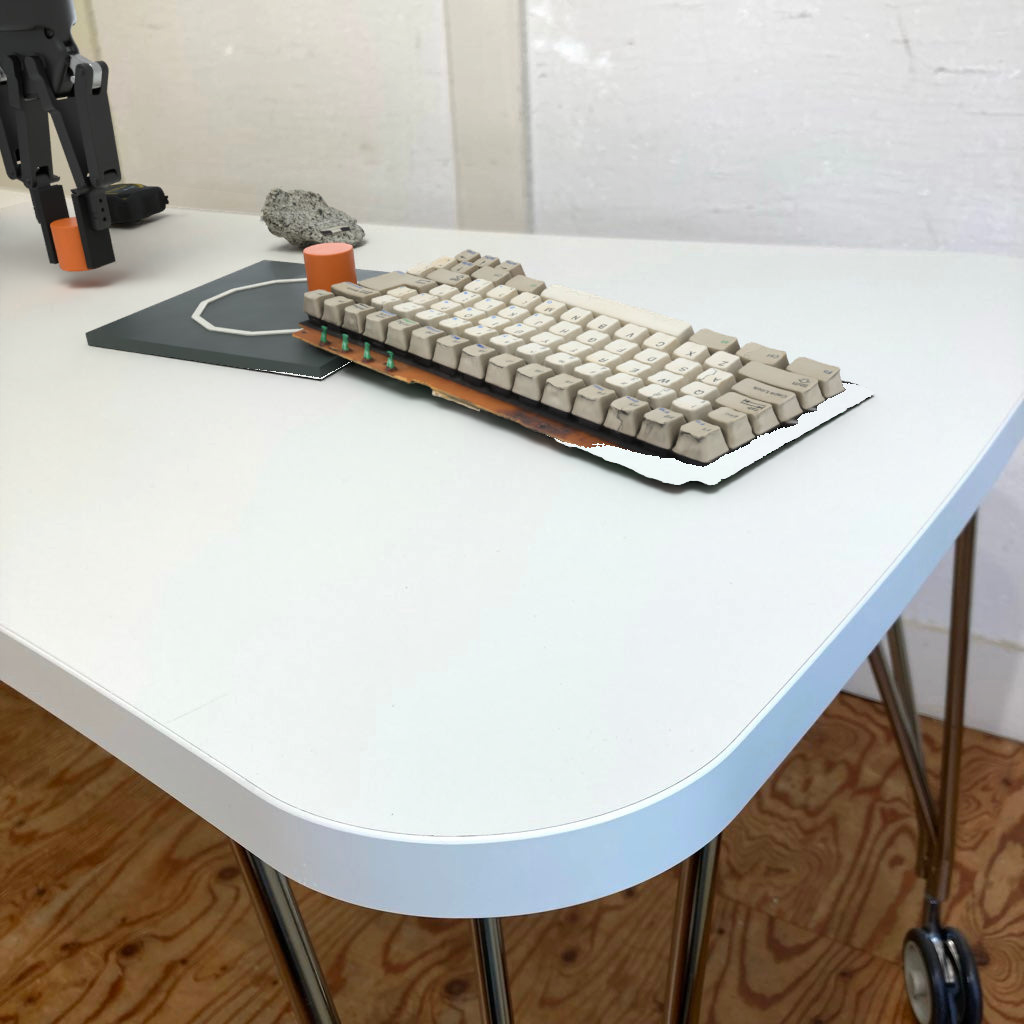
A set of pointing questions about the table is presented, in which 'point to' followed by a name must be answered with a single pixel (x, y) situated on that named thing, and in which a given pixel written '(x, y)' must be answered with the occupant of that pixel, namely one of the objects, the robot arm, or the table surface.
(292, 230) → the rock sample
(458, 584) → the table surface
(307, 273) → the short orange drum
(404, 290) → the mechanical keyboard
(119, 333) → the slate board
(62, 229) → the orange cylinder
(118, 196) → the tape measure
